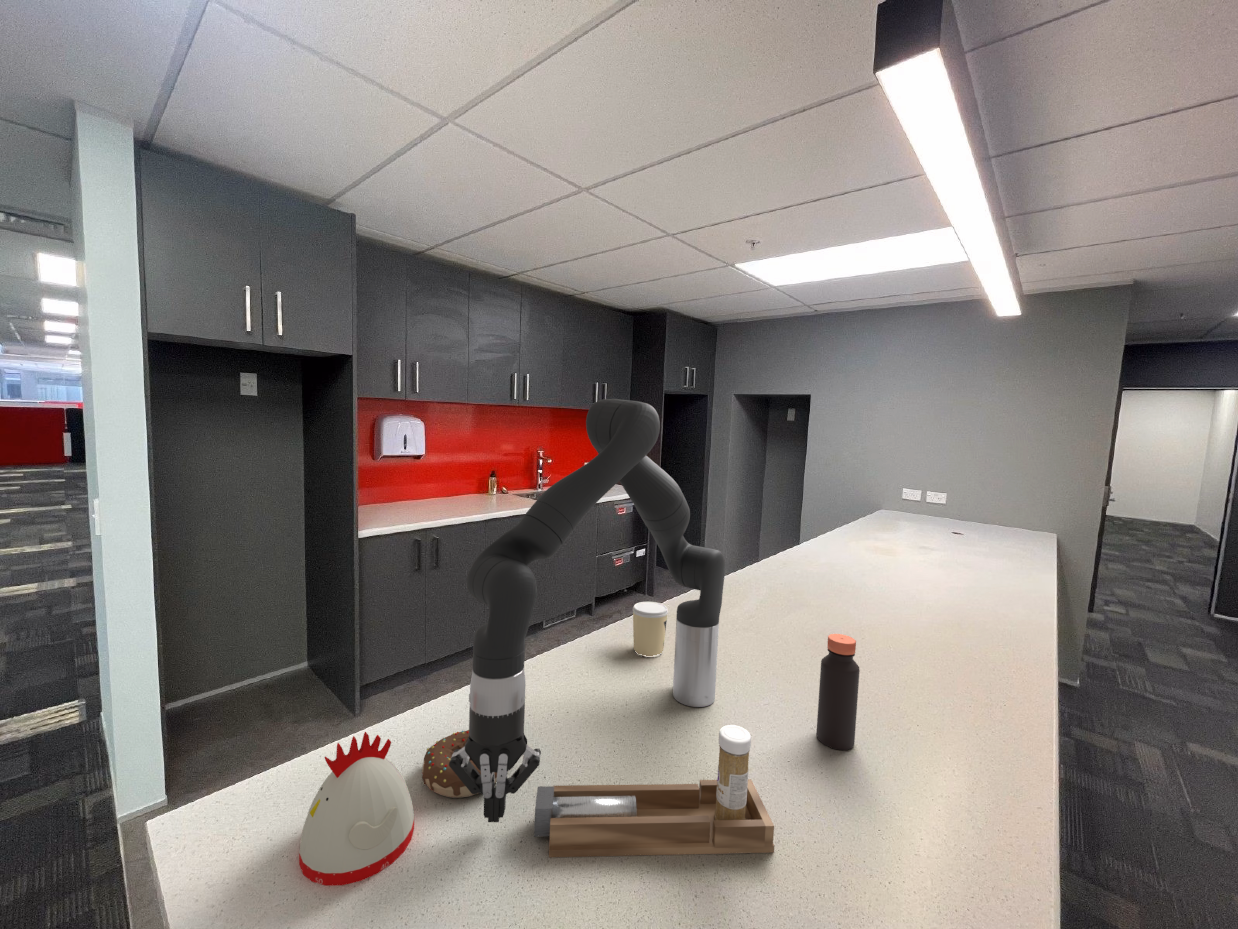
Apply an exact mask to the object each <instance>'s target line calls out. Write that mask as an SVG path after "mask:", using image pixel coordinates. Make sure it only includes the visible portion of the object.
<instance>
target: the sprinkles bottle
mask: <svg viewBox="0 0 1238 929" xmlns="http://www.w3.org/2000/svg"><path fill="white" fill-rule="evenodd" d="M718 745H719V749H718V750H719V751H718V752H719V753H718V765H717V777H716V778H717V779H716V780H717V791H716V797H717V798H716V810H715V820H746V819H745V809H746V801H747V786H748V779H749V771H750V770H749V762H750V761H749V760H750V759H749V758H750V751H751V748H752V747H751V746H752V735H751V733H750V732H749V731H748V730H747V729H746V728H744V727H742V726H739V725H735V724H726V725H724V726H722V727H721V728H720V729H719V732H718Z"/></svg>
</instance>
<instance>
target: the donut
mask: <svg viewBox="0 0 1238 929" xmlns="http://www.w3.org/2000/svg"><path fill="white" fill-rule="evenodd" d="M468 737H469V729H467V730H461V731H456V732H453V733H452V734H449V735H447V736H446V737H443V738H440V739H439V740H436V741H435V743H434V744H433V745H431V746H430V747H428V748H427V749H426V752H425V754H424V757H423V765H422V769H421V771H422V772H421V773H422V776H421V778H422V781H423V786H426V787H427V788H429V789H430V791H432V792H433V793H436V794H438V795H440V796H444V797H447V798H454V799H455V798H457V799H459V798H467V797H472V796H474V795H479V794H480V793H477V794H472V793H471V792H470V791H469V790H468V788H467V787H466V786H465V785H464V784H463V782H462V781H461V780H460V779H459V777H458V776H457V775H456V774H455V772H454V771H453V770H452V769H451V767H450V766H449V762H450V759H451V757H452V754H453V752H454V751H455V750H456V749H462V748H463V747H464V746H465V744H466V741H467V739H468ZM469 761H470V762H471V763H472V765H473V766H474V767H475V768H476V770H477V771H478V772H479V773H480V774H481V771H480V770H479V769H478V768H477V767H476V765H475V764H474V763H473V761H472V760H471V759H469ZM494 776H495V784H497V783H496V781H497V773H496V772H494Z"/></svg>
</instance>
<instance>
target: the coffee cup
mask: <svg viewBox="0 0 1238 929" xmlns="http://www.w3.org/2000/svg"><path fill="white" fill-rule="evenodd" d="M668 614H669V610H668V607H667V606H666V605H665V604H664V603H660V602H658V601H657V602H656V601H640V602H637V603H635V604H634V605H633V607H632V628H633V629H632V630H633V631H632V632H633V635H632V636H633V651H634V650H635V651H636V652H637V653H638V654H642V655H646V656H653V655H657V654H660V653H662V651H663V652H664V646H665V640H666V639H665V638H666V631H667V630H666V629H667V623H668ZM662 654H663V653H662Z"/></svg>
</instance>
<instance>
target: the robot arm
mask: <svg viewBox="0 0 1238 929" xmlns="http://www.w3.org/2000/svg"><path fill="white" fill-rule="evenodd" d="M660 423H661V422H660V416H659V414H658V412H657V410H656V408H654V407H653V405H651V404H649V403H646V402H642V401H638V400H629V399H618V398H603V399H600V400H598V401H594V403H593V404H591V406H590V407H589V409H588V412H587V414H586V420H585V427H586V433H587V437H588V439H589V441H590V443H591V445H592V447H593V448H594V449H595V451H596V452H597V453H598V454H597V455H596V456H595V457H593V458H592V459H591V460H590V461H587V463H585V464H583V466H581V467H579V468H578V469H576V470H574V471H573V472H571V473H569V474H568V475H566V476H563V477H562V478H561V479H560V480H558V481H556V482H555V483H554V484H552V485H551V486H550V487H549V488H547V489H546V490H545V491H544V492H543V493H542V494H541V495H540V496H539V497H538V499H536V500H535V502H534V503H533V504H532V505H531V506H530V508H529V509H528V510H527V512H526V513H525V514H524V516H522V518H521V519H520V520H519V522H518V523H517V524H516V525H515V526H513V527H512V528H511V529H509V530H507V531H506V532H505V533H503V534H502V535H501V536H500V537H498V538H497V539H496V540H494V541H493V542H492V543H491V544H489V546H487V547H486V548H485V549H484V550H482V551H481V552H480V553H479V554H478V555H477V557H476V558H475V560H473V562H472V564H471V565H470V567H469V570H468V572H467V575H466V581H465V582H466V583H465V584H466V589H467V592H468V594H469V595H470V596H471V597H472V598H473V599H474V600H475V601H477V602H479V603H480V604H483V605H485V606H486V607H488V611H489V612H488V613H489V615H488V619H487V620H488V621H487V622H485V623H483V624H481V625H480V626H479V627H478V628H477V629H476V630H475V633H474V635H473V645H472V667H471V668H472V671H471V676H470V677H471V679H470V684H469V694H468V702H469V716H468V730H469V737H468V739H467V741H466V744H465V746H464V747H463V748H462V749H456V750H455V751H454V752H453V754H452V757H451V759H450V762H449V766H450V767H451V769H452V770H453V771H454V772H455V774H456V775H457V776H458V777H459V779H460V780H461V781H462V782H463V784H464V785H465V786H466V787H467V788H468V790H469V791H470V792H471V793H472V794H476V795H478V794H477V793H479V794H481V795H482V796H483V816H484V819H487V823H499V822H500V819H501V818H504V815H505V812H506V806H507V805H506V804H507V803H506V802H507V794H509V793H510V794H512V795H513V794H516V793H517V792H518V791H519V789H520V788H521V787H522V786H523V785H524V784H525V783H526V781H527V780H528V779H529V778H530V777H531V775H533V773H534V772H535V770H537V768H538V767H539V766H540V764H541V763H540V762H541V755H542V751H541V749H540V748H534V749H533V748H532V747H531V746H530V745H528V739H527V737H526V735H525V711H526V710H525V709H526V708H525V707H526V702H525V701H526V684H527V683H526V673H525V653H526V652H525V651H526V637H527V633H528V630H529V628H530V624H531V620H532V618H533V613H534V609H535V607H536V602H537V596H538V588H537V581H536V577H535V575H534V572H533V570H532V569H531V568H530V567H529V565H530V564H531V563H533V562H535V561H538V560H548V559H550V558H552V557H553V556H554V555H555V554H557V552H558V551H559V550H560V548H562V546H563V544H565V542H566V540H568V538H569V537H570V535H571V534H572V533H573V532H574V530H575V529H576V528H577V526H578V525H579V524H580V523H581V521H582V520H583V519H584V517H585V516H586V515H587V513H589V512H590V510H591V509H592V508H593V507H594V506H595V505H596V504H597V503H598V501H599V500H601V499H602V498H603V497H604V496H605V495H606V494H607V493H608V492H609V491H610V490H611V489H612V488H614V487H615V485H617V484H618V483H620V484H621V486H622V488H623V489H624V491H625V492H626V494H627V496H628V497H629V499H630V500H631V502H632V504H633V506H634V507H635V509H636V511H637V513H638V515H639V516H640V518H641V520H642V521H643V523H644V525H645V526H646V527H647V529H648V531H649V532H650V534H651V536H652V537H653V539H654V541H655V542H656V543H655V544H657V546H658V548H659V550H660V552H661V555H662V557H663V559H664V563H665V564H666V566H667V569H668V571H669V573H670V575H671V578H672V579H673V580H674V582H675V583H677V585H679V586H680V587H681V586H682V587H684V588H688V589H692V590H695V591H699V598H698V599H692V600H686V601H683V602H681V603H679V604H678V606H677V608H676V615H675V616H676V618H675V619H676V620H675V641H674V643H675V644H674V659H673V660H674V661H673V662H674V664H673V681H672V682H673V683H672V697H673V698H674V699H675V700H676V701H677V702H679V703H680V704H682V705H685V706H688V707H693V708H704V707H708V706H710V705H712V704H713V703H714V702H715V700H716V685H717V666H718V650H719V649H718V647H719V631H720V630H719V629H720V615H721V609H722V605H723V604H722V603H723V592H724V586H725V585H724V584H725V576H726V561H725V556H724V554H723V553H722V551H721V550H719V549H714V548H709V547H704V546H698V545H693V544H691V543H689V542H688V541H687V540H686V538H685V537H684V534H685V532H686V530H687V528H688V525H689V523H690V518H691V509H690V507H689V504H688V502H687V500H686V497H685V495H684V493H683V492H682V489H681V487H680V486H679V484H678V483H677V482H676V481H675V480H674V478H673V477H672V476H670V475H669V474H668V473H667V472H666V471H665V470H664V469H663V468H662V467H660V466H659V465H658V464H657V463H655V462H654V460H652V459H651V458H650V457H649V456H648V454H649V453H650V452H651V450H652V449H653V448H654V446H655V445H656V442H657V441H658V439H659V438H658V437H659V435H660V428H661V426H660V425H661V424H660ZM522 756H523V757H522ZM521 757H522V763H521V764H520V765H519V767H518V768H517V769H516V770H515V771H514V772H513V774H512V775H511V776H510V777H508V775H509V771H510V770H512V768H514V766H515V765H516V763H517V762H519V760H520V759H521ZM469 759H471V760H472V761H473V763H474V764H475V765H476V767H477V768H478V769H479V770H480V771H481V774H480V773H479V772H478V771H477V770H476V768H475V767H474V766H473V765H472V763H471V762H470V761H469ZM494 772H496V773H497V781H496V783H495V776H494ZM495 785H496V786H495Z"/></svg>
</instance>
